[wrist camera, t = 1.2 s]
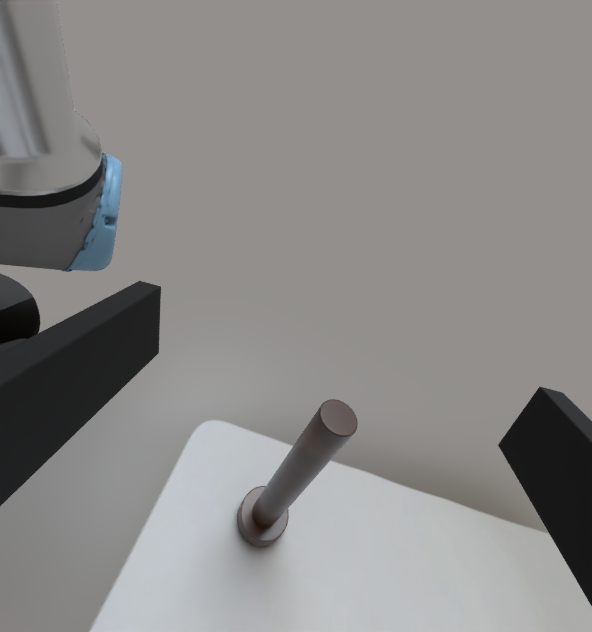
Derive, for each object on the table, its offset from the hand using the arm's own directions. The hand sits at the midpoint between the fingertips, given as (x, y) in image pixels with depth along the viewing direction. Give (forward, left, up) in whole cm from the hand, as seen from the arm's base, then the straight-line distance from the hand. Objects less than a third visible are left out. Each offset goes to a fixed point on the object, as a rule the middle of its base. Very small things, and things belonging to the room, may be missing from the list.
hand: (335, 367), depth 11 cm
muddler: (+2, +4, -24) cm, 25 cm away
